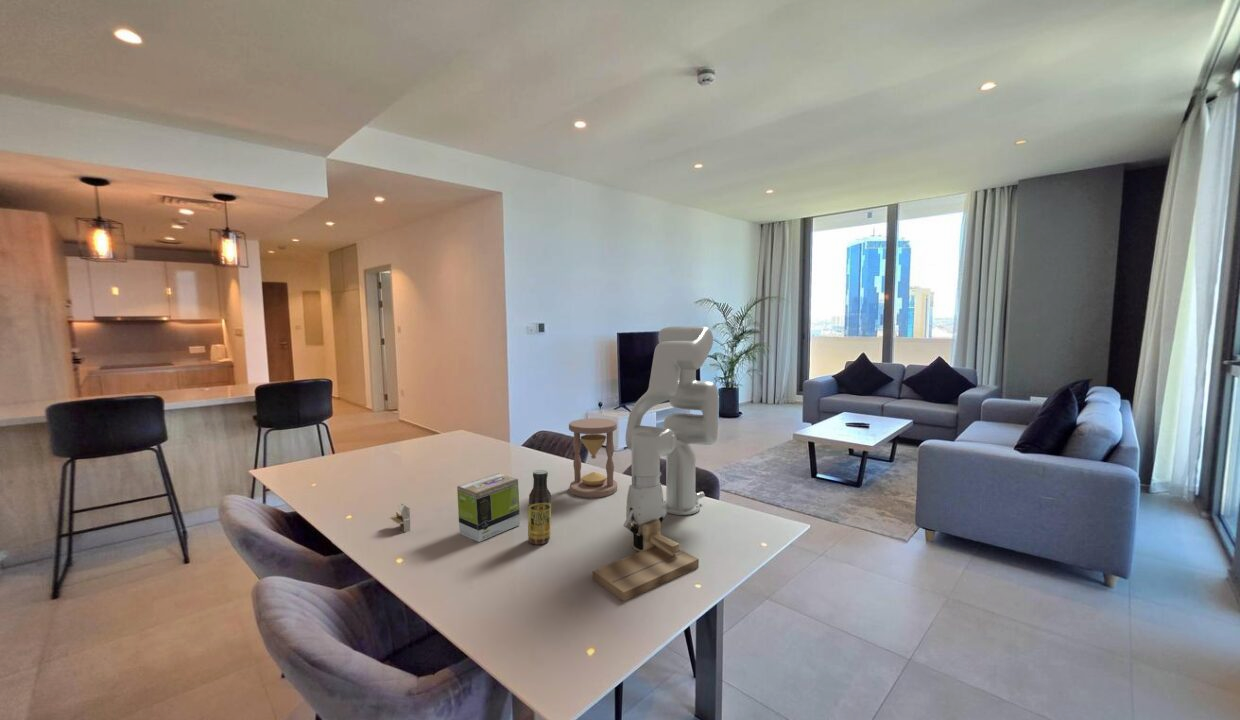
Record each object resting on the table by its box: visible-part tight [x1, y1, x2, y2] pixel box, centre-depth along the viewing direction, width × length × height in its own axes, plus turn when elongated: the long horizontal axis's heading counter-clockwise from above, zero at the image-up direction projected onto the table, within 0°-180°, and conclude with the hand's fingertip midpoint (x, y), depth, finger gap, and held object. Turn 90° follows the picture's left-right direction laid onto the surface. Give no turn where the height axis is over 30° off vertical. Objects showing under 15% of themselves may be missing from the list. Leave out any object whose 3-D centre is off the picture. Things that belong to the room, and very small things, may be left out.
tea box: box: [456, 473, 521, 543], centre depth 142 cm, size 15×10×15 cm, turn 141°
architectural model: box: [388, 502, 411, 533], centre depth 143 cm, size 3×7×7 cm, turn 46°
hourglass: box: [568, 417, 618, 499], centre depth 176 cm, size 18×18×25 cm
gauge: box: [631, 519, 681, 555], centre depth 126 cm, size 5×14×8 cm, turn 39°
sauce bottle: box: [527, 469, 552, 546], centre depth 134 cm, size 7×6×20 cm
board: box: [592, 546, 700, 602], centre depth 117 cm, size 24×12×2 cm, turn 128°
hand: (646, 544), depth 130 cm, fingers closed on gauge, 5 cm apart
